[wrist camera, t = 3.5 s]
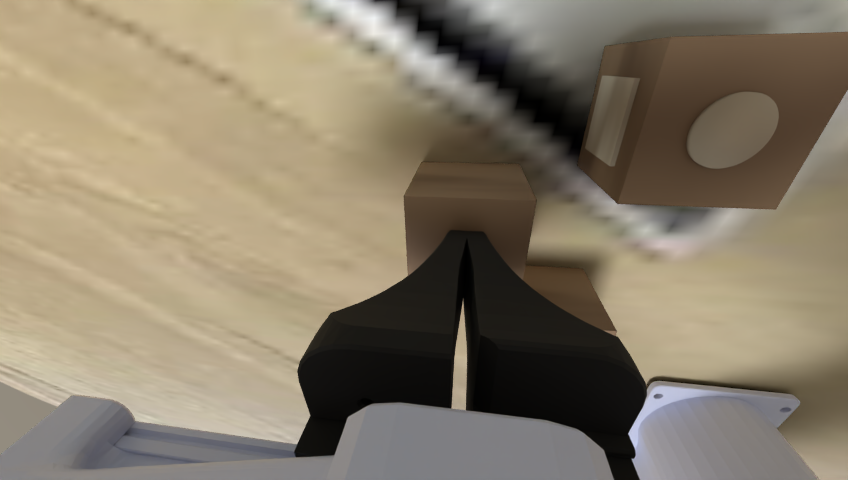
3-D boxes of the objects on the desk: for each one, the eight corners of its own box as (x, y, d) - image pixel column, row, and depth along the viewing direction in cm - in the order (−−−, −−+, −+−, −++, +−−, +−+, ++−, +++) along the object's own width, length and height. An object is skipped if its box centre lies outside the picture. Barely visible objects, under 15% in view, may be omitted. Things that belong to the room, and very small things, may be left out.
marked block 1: (686, 167, 13) (780, 211, 9) (573, 164, 14) (614, 205, 10) (738, 42, 11) (890, 30, 7) (599, 46, 12) (667, 36, 8)
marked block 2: (564, 329, 19) (590, 402, 15) (486, 322, 19) (490, 391, 15) (582, 267, 16) (618, 334, 12) (493, 262, 17) (499, 324, 13)
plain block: (507, 247, 16) (518, 304, 12) (423, 243, 17) (409, 296, 13) (519, 163, 14) (536, 200, 10) (421, 161, 15) (403, 195, 11)
